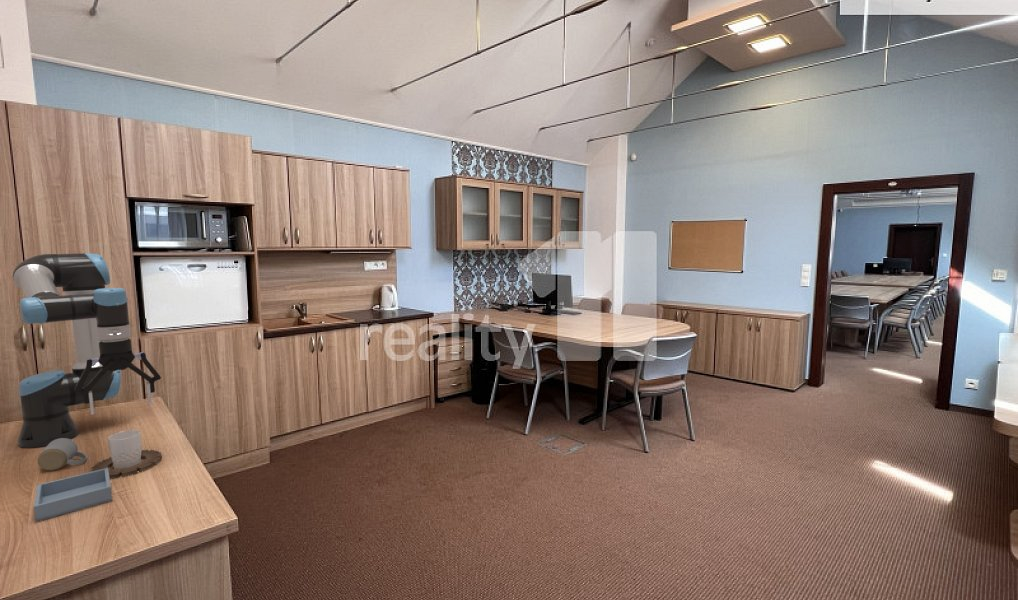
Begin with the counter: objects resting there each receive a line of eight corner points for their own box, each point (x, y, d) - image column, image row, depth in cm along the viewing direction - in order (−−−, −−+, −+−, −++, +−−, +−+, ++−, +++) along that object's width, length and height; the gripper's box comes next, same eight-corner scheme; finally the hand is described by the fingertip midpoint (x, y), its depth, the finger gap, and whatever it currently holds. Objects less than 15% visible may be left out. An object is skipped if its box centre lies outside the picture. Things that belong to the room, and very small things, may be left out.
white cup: (108, 473, 143) (104, 441, 142) (115, 463, 150) (111, 432, 149) (140, 468, 147) (137, 436, 145) (146, 457, 154) (143, 428, 152)
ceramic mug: (36, 474, 143) (33, 449, 142) (48, 463, 150) (45, 439, 149) (82, 467, 147) (80, 443, 147) (91, 457, 155) (89, 434, 154)
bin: (39, 498, 129) (37, 484, 129) (109, 480, 139) (108, 467, 138) (35, 522, 118) (33, 506, 118) (112, 500, 128) (110, 486, 127)
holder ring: (90, 464, 149) (90, 460, 149) (158, 448, 160) (157, 445, 160) (92, 485, 136) (91, 481, 136) (164, 466, 148) (164, 462, 148)
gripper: (57, 347, 133) (66, 421, 135) (167, 335, 149) (173, 401, 151) (58, 343, 138) (66, 414, 141) (164, 332, 155) (169, 396, 157)
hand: (122, 408), depth 146 cm, fingers open, 13 cm apart
